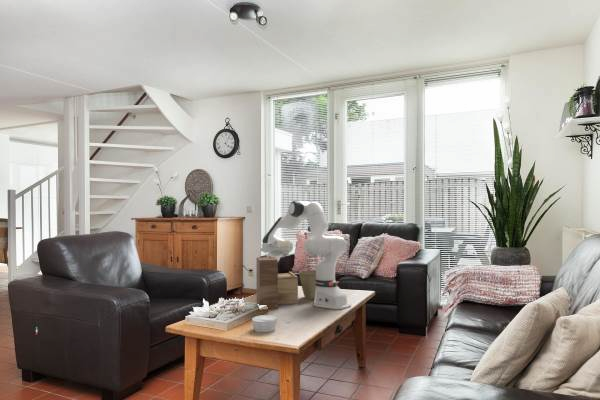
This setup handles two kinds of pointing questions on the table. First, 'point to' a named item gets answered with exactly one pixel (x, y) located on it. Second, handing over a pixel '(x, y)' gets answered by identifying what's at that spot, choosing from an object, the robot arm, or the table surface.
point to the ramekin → (264, 323)
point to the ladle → (283, 244)
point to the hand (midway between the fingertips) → (279, 242)
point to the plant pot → (308, 283)
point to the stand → (275, 284)
